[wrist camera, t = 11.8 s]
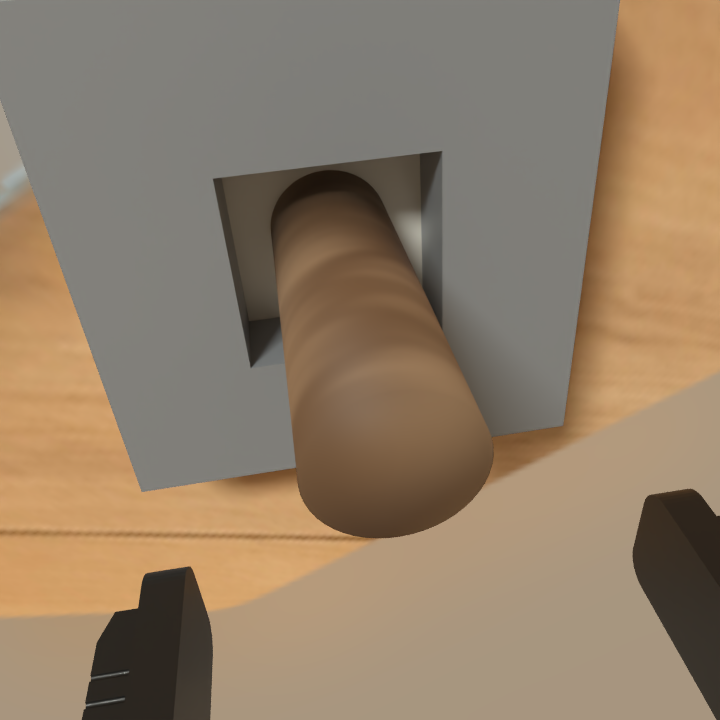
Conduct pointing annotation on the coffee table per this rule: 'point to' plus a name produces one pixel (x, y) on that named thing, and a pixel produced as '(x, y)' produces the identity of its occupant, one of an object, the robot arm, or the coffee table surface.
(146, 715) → the robot arm
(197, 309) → the socket block
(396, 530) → the walnut peg
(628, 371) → the coffee table surface
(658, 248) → the coffee table surface
